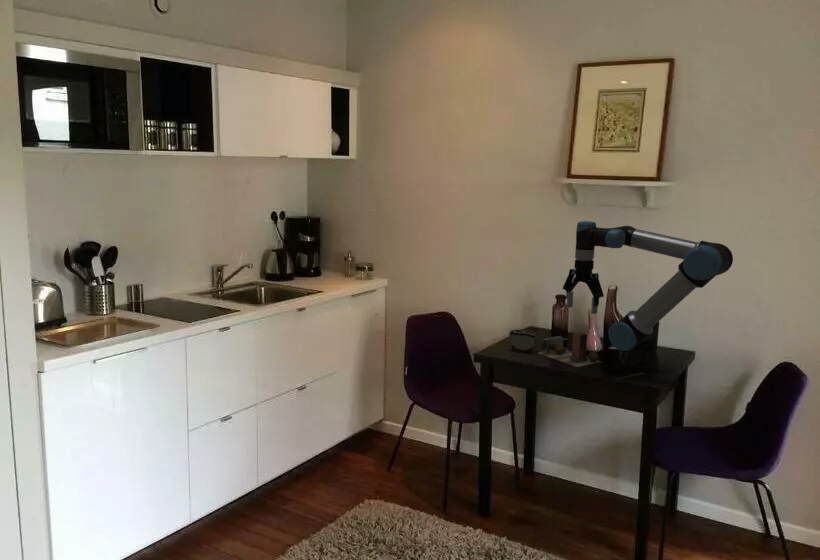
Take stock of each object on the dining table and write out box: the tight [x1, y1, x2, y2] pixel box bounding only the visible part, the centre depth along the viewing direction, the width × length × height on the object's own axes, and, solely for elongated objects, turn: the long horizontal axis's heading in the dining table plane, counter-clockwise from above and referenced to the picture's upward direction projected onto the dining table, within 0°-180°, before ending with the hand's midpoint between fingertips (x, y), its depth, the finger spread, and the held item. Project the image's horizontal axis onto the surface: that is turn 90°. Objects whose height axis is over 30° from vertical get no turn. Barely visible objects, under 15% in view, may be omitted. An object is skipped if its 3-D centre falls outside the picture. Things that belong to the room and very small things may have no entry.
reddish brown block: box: [570, 331, 588, 363], centre depth 288 cm, size 5×5×12 cm
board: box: [537, 350, 602, 368], centre depth 294 cm, size 24×14×1 cm, turn 33°
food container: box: [508, 328, 538, 355], centre depth 302 cm, size 12×6×10 cm, turn 63°
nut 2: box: [587, 350, 599, 362], centre depth 288 cm, size 4×4×4 cm
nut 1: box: [554, 344, 565, 354], centre depth 299 cm, size 4×4×4 cm
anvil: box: [540, 335, 568, 356], centre depth 300 cm, size 7×10×6 cm
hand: (581, 310), depth 285 cm, fingers open, 13 cm apart
